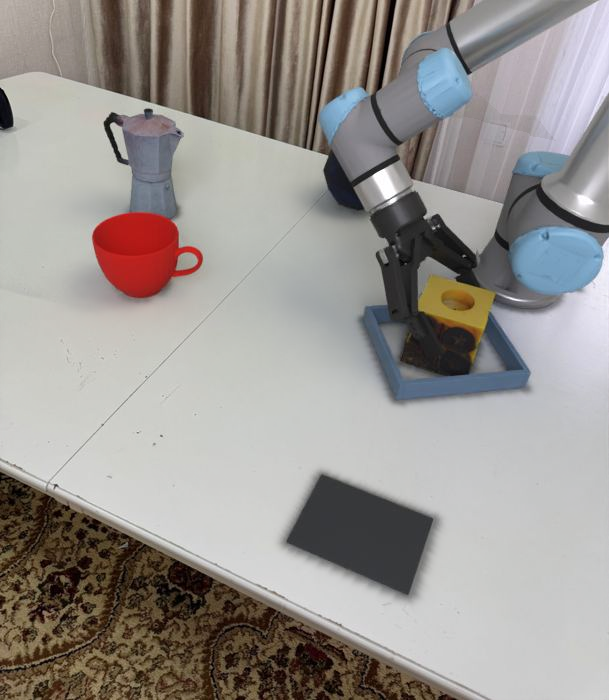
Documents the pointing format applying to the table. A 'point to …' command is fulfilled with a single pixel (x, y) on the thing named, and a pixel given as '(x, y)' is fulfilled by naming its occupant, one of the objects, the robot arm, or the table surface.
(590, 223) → the robot arm
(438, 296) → the candle
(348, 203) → the decorative orb
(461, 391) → the blue open square frame
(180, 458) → the table surface
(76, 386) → the table surface
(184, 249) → the ceramic cup
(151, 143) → the moka pot
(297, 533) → the mat
